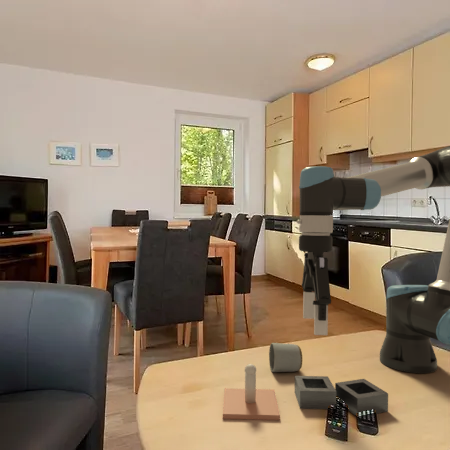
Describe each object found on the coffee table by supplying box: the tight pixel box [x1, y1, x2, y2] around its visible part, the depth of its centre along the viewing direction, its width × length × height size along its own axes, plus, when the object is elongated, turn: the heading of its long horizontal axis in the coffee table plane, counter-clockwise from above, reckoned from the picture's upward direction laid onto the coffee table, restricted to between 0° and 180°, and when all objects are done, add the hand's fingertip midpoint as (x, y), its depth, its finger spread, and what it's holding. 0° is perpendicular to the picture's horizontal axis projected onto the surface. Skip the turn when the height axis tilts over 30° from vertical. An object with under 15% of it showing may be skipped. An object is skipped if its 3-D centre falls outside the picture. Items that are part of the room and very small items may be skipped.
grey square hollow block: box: [334, 378, 389, 416], centre depth 85 cm, size 8×8×4 cm
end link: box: [294, 375, 337, 410], centre depth 87 cm, size 8×8×4 cm
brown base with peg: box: [222, 363, 281, 421], centre depth 84 cm, size 12×12×9 cm
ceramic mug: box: [268, 342, 303, 373], centre depth 106 cm, size 11×8×8 cm
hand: (314, 325), depth 87 cm, fingers open, 13 cm apart
